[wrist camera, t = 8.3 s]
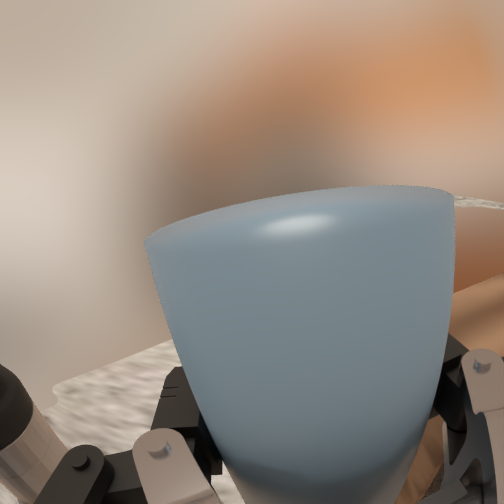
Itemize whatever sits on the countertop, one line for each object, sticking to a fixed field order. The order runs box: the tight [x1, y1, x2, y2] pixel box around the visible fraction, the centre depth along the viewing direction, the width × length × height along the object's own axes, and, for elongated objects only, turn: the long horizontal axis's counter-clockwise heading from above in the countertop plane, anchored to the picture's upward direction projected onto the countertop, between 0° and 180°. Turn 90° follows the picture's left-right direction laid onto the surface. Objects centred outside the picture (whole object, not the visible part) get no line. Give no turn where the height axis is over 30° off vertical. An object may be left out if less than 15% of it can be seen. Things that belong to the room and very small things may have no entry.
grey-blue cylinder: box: [144, 185, 455, 504], centre depth 7 cm, size 6×6×12 cm
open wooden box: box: [394, 272, 504, 504], centre depth 17 cm, size 10×18×20 cm, turn 94°
